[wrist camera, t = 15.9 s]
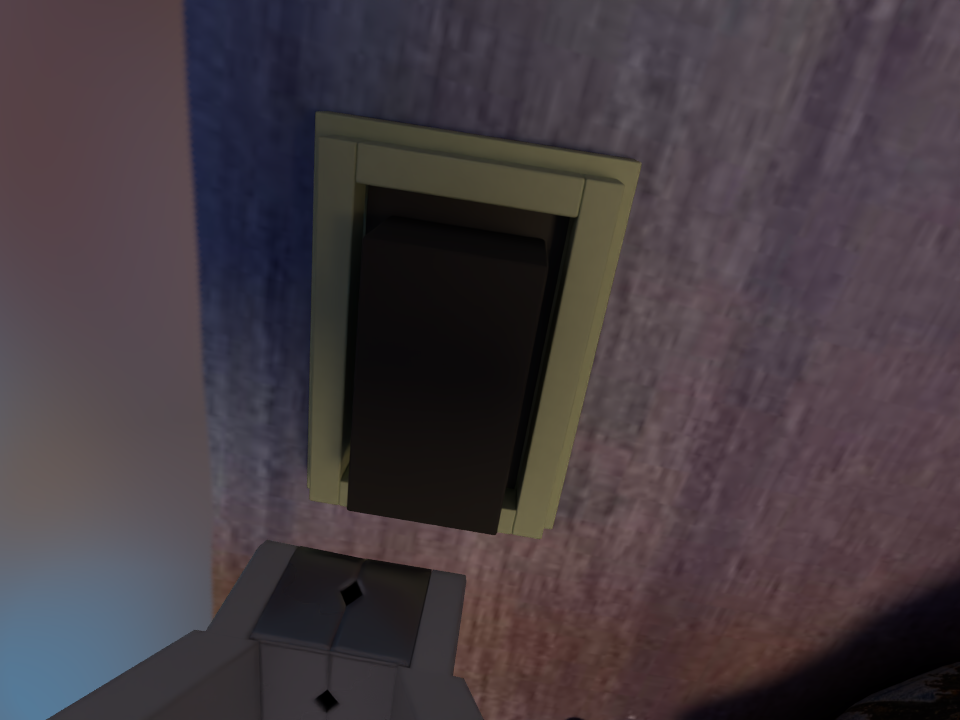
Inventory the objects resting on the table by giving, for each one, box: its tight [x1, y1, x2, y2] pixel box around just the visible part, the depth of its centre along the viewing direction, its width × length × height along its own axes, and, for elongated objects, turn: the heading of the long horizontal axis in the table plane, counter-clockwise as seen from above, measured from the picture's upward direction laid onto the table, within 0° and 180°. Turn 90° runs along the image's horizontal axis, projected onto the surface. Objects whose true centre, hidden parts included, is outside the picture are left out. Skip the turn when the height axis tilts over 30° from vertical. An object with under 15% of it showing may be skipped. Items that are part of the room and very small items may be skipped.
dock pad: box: [307, 111, 642, 539], centre depth 18 cm, size 12×9×2 cm
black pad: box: [347, 216, 549, 535], centre depth 16 cm, size 8×4×3 cm, turn 172°
